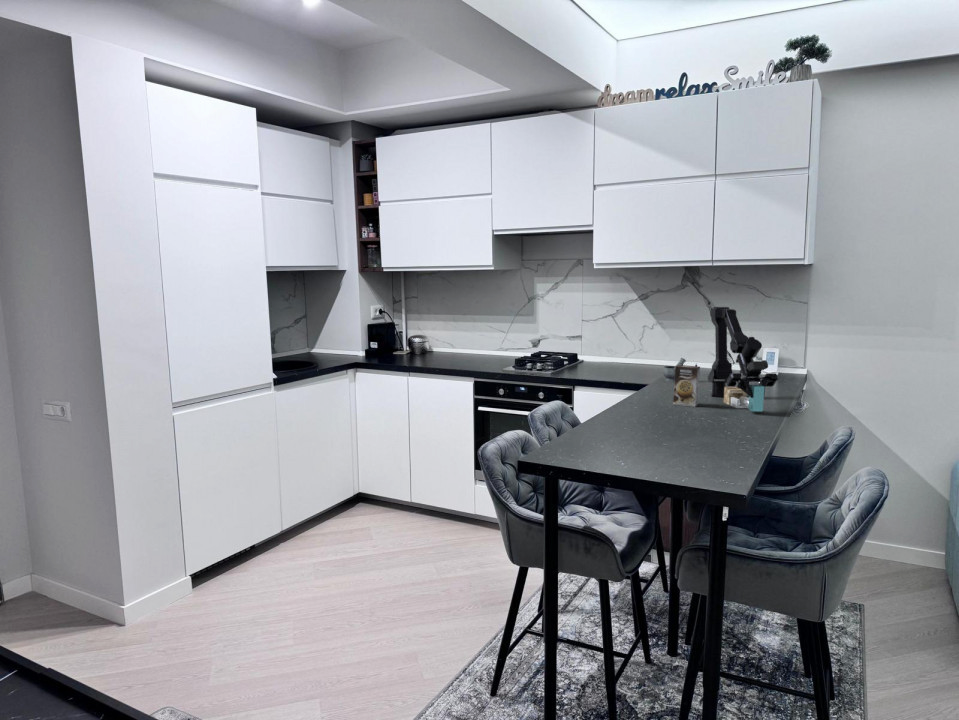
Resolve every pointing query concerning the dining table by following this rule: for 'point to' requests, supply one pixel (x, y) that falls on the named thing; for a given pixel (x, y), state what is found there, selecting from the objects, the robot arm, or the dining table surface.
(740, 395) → the socket
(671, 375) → the mortar and pestle
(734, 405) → the white notched block
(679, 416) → the dining table surface
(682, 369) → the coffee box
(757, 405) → the teal and silver mallet
